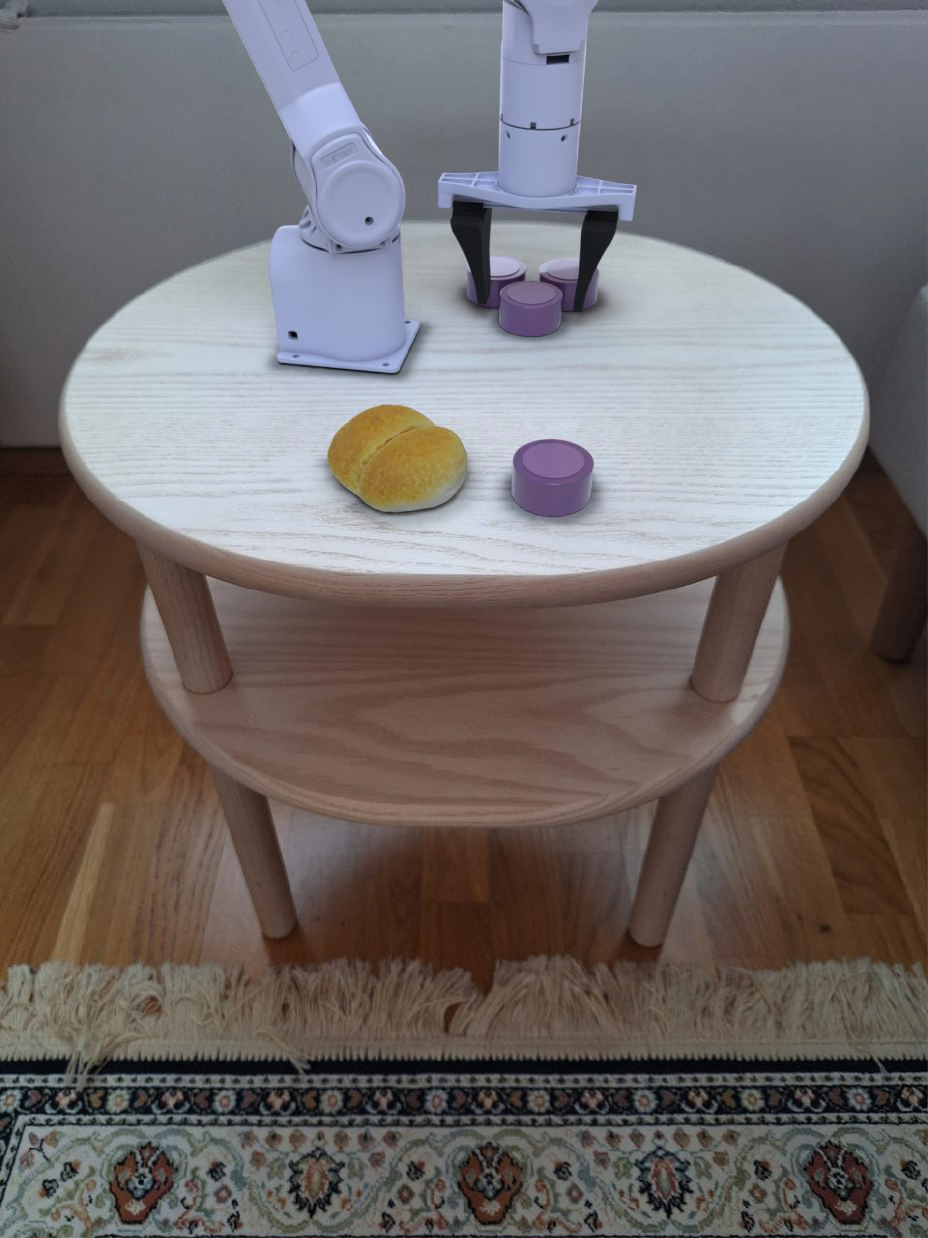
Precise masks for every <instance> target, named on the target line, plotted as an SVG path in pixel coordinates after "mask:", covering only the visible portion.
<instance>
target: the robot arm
mask: <svg viewBox="0 0 928 1238" xmlns="http://www.w3.org/2000/svg"><path fill="white" fill-rule="evenodd" d="M221 1H222V3H223V5H224V7H225V9H226V11H227V13H228V15H229V17H230V19H231V21H232V24H233V26H234V27H235V29H236V31H237V33H238V35H239V37H240V39H241V41H242V43H243V45H244V47H245V49H246V51H247V53H248V55H249V57H250V59H251V62H252V63H253V65H254V67H255V69H256V72H257V73H258V76H259V77H260V79H261V81H262V83H263V85H264V87H265V90H266V92H267V94H268V96H269V98H270V100H271V102H272V104H273V106H274V108H275V111H276V113H277V115H278V116H279V117H278V118H280V121H281V123H282V125H283V127H284V129H285V130H286V134H287V136H288V139H289V144H290V165H291V170H292V173H293V176H294V179H295V182H296V183H297V185H298V186H299V187H300V189H301V190H302V191H303V194H304V196H305V198H306V199H307V201H308V203H307V204H306V206H305V209H304V211H303V213H302V216H301V220H299V221H298V224H294V225H293V224H292V225H289V224H288V225H281V226H280V227H278V228H277V230H276V231H275V232H274V235H273V238H272V240H271V243H270V247H269V248H270V249H269V256H268V277H269V278H268V279H269V286H270V292H271V293H270V294H271V300H272V307H273V313H274V320H275V327H276V334H277V340H278V341H277V342H278V349H279V351H278V353H277V355H276V359H277V362H279V363H281V364H282V363H283V364H293V365H302V366H303V365H304V366H314V367H322V368H323V367H324V368H333V369H334V368H335V369H336V368H337V369H345V370H354V371H355V370H356V371H366V372H377V373H389V374H395V373H397V372H399V371H400V370H401V367H402V365H403V364H404V361H405V358H406V356H407V355H408V353H409V350H410V348H411V346H412V344H413V342H414V340H415V338H416V336H417V334H418V332H419V330H420V323H421V322H420V321H418V320H416V319H406V318H405V297H404V296H405V295H404V292H405V291H404V273H403V254H402V251H403V250H402V232H401V221H402V219H403V216H404V213H405V209H406V201H407V197H406V188H405V184H404V183H405V182H404V181H403V178H402V176H401V174H400V172H399V171H398V169H397V167H396V166H395V165H394V163H392V162H391V161H390V160H389V159H388V158H387V157H386V156H385V155H384V154H383V153H382V151H381V150H380V148H379V147H378V146H377V143H376V141H375V139H374V138H373V135H372V134H371V132H370V130H369V129H368V128H367V127H366V125H364V123H363V122H361V119H360V117H359V115H358V113H357V111H356V109H355V107H354V105H353V103H352V101H351V99H350V98H349V96H348V94H347V92H346V90H345V88H344V86H343V84H342V82H341V80H340V77H339V75H338V73H337V71H336V69H335V66H334V64H333V62H332V59H331V56H330V55H329V52H328V50H327V48H326V45H325V44H324V43H325V42H324V41H323V39H322V36H321V34H320V32H319V30H318V29H319V28H318V27H317V25H316V23H315V19H314V18H313V16H312V13H311V11H310V9H309V6H308V4H307V2H306V0H221ZM598 2H600V0H502V24H501V25H502V26H501V27H502V28H501V29H502V32H501V33H502V35H501V43H500V76H499V77H500V78H499V79H500V83H499V90H500V91H499V120H498V121H499V123H498V125H499V126H498V127H499V128H498V129H499V130H498V134H499V135H498V167H497V168H498V170H495V171H480V172H479V171H478V172H442V174H441V175H440V177H439V179H438V180H437V207H438V209H448V210H450V209H452V211H451V217H450V220H449V225H450V228H451V232H452V234H453V235H454V237H455V239H456V241H457V242H458V245H459V246H460V248H461V250H462V252H463V255H464V257H465V259H466V262H467V266H468V265H469V268H470V271H471V274H472V277H473V281H474V285H475V289H476V295H477V302H478V304H485V305H486V303H487V301H488V298H489V295H490V288H491V271H490V256H491V253H490V252H491V249H490V248H491V230H492V217H493V216H492V215H493V209H500V210H512V211H513V210H514V211H526V212H527V211H529V212H542V213H544V212H545V213H558V214H571V215H584V218H583V221H582V225H581V229H580V245H579V259H580V260H579V274H578V281H577V287H576V293H575V298H574V310H573V311H572V312H573V313H583V311H584V309H583V307H584V302H585V296H586V293H587V290H588V287H589V284H590V282H591V279H592V277H593V274H594V272H595V270H596V268H598V266H599V264H600V262H601V260H602V258H603V256H604V255H605V253H606V251H607V250H608V248H609V246H610V245H611V243H612V241H613V239H614V237H615V235H616V232H617V227H618V221H625V222H632V221H633V220H634V213H635V205H636V198H637V197H636V196H637V189H638V185H637V184H630V183H629V184H628V183H620V182H614V181H608V180H603V179H598V178H593V177H589V176H588V177H587V176H583V175H578V161H579V160H578V159H579V145H580V135H581V134H580V133H581V121H582V109H583V108H582V107H583V96H584V81H585V72H586V71H585V70H586V58H587V57H586V55H587V37H588V25H589V17H590V15H591V13H592V11H593V10H594V9H595V7H596V5H597V4H598Z"/></svg>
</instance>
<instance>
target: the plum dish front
mask: <svg viewBox="0 0 928 1238" xmlns="http://www.w3.org/2000/svg"><path fill="white" fill-rule="evenodd" d="M511 465H512V468H511V469H512V470H511V492H510V493H511V496H512V498H513V500H514V502H515V503H516V504H517V505H518V506H519V507H520V508H521V509H523V510H525V511H527V512H529V513H532V514H535V515H539V516H544V517H563V516H568V515H571V514H575V513H577V512H579V511H580V510H582V509H583V508H585V507H586V506H587V505H588V503H589V501H590V500H591V495H592V494H591V493H592V485H593V478H594V477H593V476H594V469H595V468H594V467H595V462H594V457H593V456H592V455H591V453H590V452H589V451H588V450H587V449H586V448H584V447H583V446H581V445H579V443H578V444H577V443H575V442H572V441H568V440H565V439H559V438H544V439H543V438H542V439H536V440H532V441H530V442H527V443H525V444H523V445H521V447H519V448H518V449H517V450H516V451H515V452H514V454H513V456H512V464H511Z"/></svg>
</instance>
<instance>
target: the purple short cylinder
mask: <svg viewBox="0 0 928 1238" xmlns="http://www.w3.org/2000/svg"><path fill="white" fill-rule="evenodd" d="M490 271H491V288H490V295H489V298H488V301H487V303H486V305H485V304H478V302H477V295H476V289H475V285H474V281H473V277H472V274H471V271H470V268H469V265H468V264H467V266H466V297H467V298H468V300H469V301H470V302H471V303H473V304H475V305H478V306H481V307H486V308H494V309H497V308H498V309H499V304H500V292H501V290H502V289H503V288H504V287H505V286H507V285H509V284H512V283H515V282H521V281H527V275H528V273H527V272H528V267H527V265H526V263H525V262H523V261H522V260H520V259H518V258H516V257H512V256H508V255H495V254H494V255H490Z"/></svg>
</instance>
